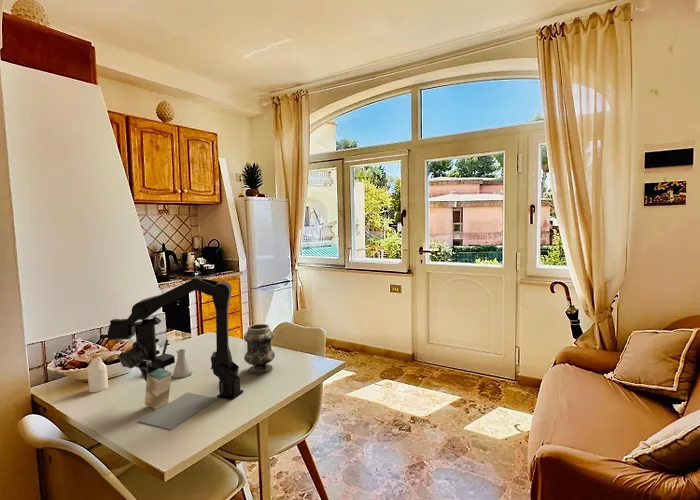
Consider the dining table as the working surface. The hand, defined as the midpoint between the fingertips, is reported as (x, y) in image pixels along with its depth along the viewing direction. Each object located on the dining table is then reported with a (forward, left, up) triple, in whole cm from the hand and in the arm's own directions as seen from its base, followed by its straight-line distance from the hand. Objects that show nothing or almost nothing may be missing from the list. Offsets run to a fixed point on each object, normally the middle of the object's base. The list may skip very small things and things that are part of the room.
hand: (149, 383), depth 126 cm
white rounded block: (+28, -2, -7) cm, 29 cm away
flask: (+8, -22, -7) cm, 25 cm away
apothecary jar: (-19, -36, -7) cm, 41 cm away
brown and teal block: (-3, 0, -7) cm, 7 cm away
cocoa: (+20, -21, -7) cm, 30 cm away
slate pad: (-13, 0, -7) cm, 15 cm away
